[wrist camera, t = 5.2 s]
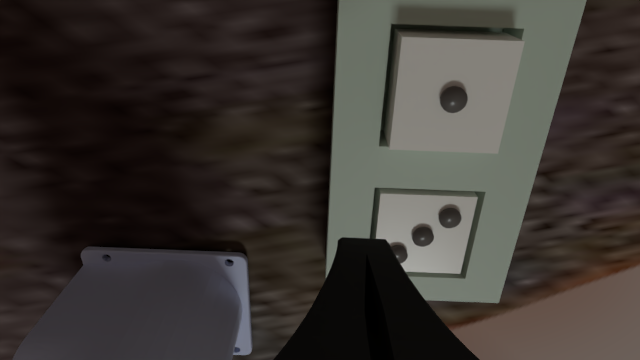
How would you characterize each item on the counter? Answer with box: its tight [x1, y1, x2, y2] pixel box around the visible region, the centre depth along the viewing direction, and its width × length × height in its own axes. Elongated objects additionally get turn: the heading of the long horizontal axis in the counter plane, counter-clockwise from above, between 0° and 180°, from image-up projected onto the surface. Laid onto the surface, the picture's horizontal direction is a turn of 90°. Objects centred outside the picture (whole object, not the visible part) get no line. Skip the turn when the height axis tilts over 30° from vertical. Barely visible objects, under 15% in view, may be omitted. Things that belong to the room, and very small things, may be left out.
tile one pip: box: [384, 29, 525, 154], centre depth 17 cm, size 4×4×2 cm
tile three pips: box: [370, 188, 478, 274], centre depth 21 cm, size 4×4×2 cm
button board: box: [325, 0, 586, 303], centre depth 19 cm, size 9×22×3 cm, turn 178°
